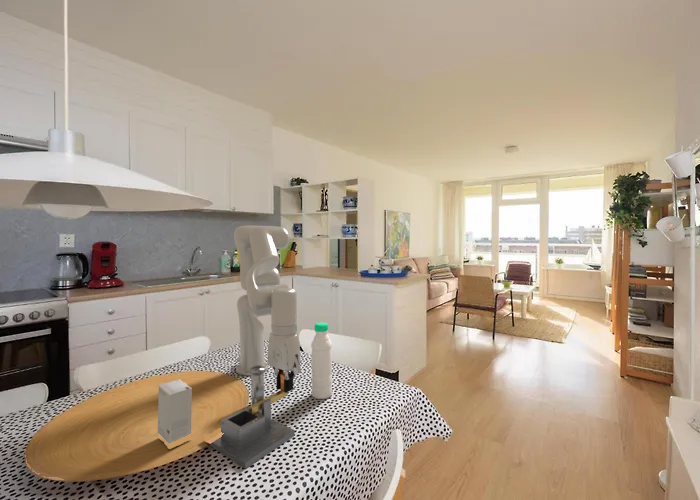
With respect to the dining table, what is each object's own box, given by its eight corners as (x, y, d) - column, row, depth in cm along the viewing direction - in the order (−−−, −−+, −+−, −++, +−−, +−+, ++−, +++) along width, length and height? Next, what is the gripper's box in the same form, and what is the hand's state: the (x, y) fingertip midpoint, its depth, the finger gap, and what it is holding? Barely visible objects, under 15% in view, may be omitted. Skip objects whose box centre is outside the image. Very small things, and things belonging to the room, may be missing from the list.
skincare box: (157, 438, 87) (155, 385, 87) (180, 428, 92) (179, 377, 92) (169, 452, 82) (168, 394, 82) (193, 440, 87) (192, 386, 86)
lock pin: (247, 411, 88) (247, 388, 88) (285, 392, 100) (284, 371, 99) (253, 414, 87) (253, 390, 87) (291, 394, 98) (290, 373, 98)
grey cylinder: (246, 405, 105) (246, 369, 105) (259, 399, 109) (258, 364, 109) (256, 410, 102) (256, 372, 102) (268, 403, 106) (268, 367, 106)
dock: (203, 441, 86) (202, 408, 86) (253, 415, 99) (252, 386, 99) (245, 469, 76) (244, 431, 75) (294, 435, 89) (294, 403, 88)
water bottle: (329, 401, 108) (328, 326, 107) (308, 399, 109) (308, 325, 108) (334, 391, 115) (333, 321, 114) (315, 389, 116) (314, 320, 115)
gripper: (256, 327, 99) (257, 387, 99) (294, 337, 89) (294, 402, 90) (275, 322, 105) (276, 378, 106) (312, 330, 95) (313, 392, 96)
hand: (284, 389), depth 98 cm, fingers closed on lock pin, 2 cm apart
